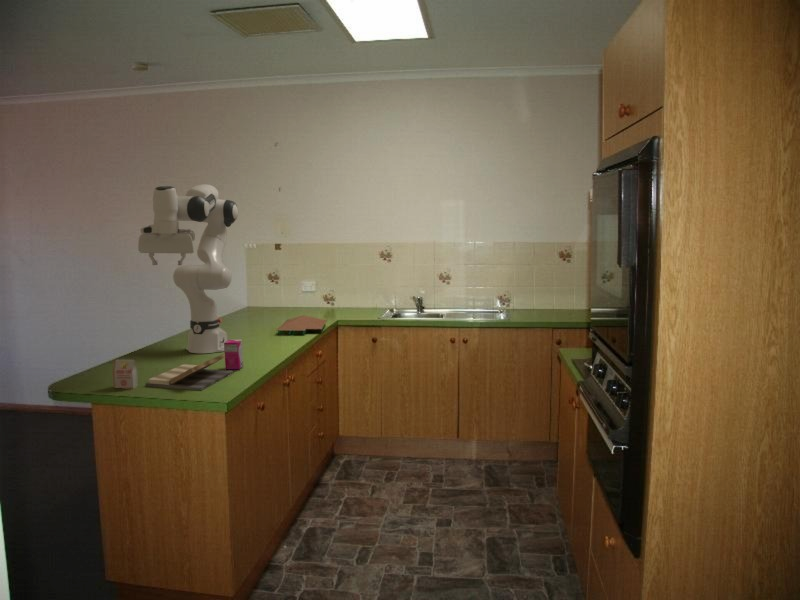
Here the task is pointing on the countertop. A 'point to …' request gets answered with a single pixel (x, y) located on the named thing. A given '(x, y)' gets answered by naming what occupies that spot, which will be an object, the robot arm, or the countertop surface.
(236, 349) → the supplement box
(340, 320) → the countertop surface
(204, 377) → the floor board
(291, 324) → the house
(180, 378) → the walnut plank
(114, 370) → the white food carton
